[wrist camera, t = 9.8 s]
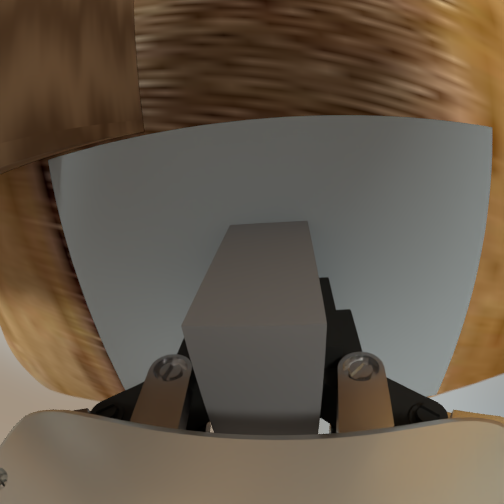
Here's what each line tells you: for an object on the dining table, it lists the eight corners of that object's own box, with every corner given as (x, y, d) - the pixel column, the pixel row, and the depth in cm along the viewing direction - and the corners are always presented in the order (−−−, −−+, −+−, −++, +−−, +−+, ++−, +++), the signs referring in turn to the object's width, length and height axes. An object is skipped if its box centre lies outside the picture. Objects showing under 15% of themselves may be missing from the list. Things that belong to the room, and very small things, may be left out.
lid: (63, 155, 12) (-60, 200, 5) (476, 125, 10) (604, 154, 3) (136, 386, 18) (95, 476, 11) (430, 380, 15) (464, 477, 9)
